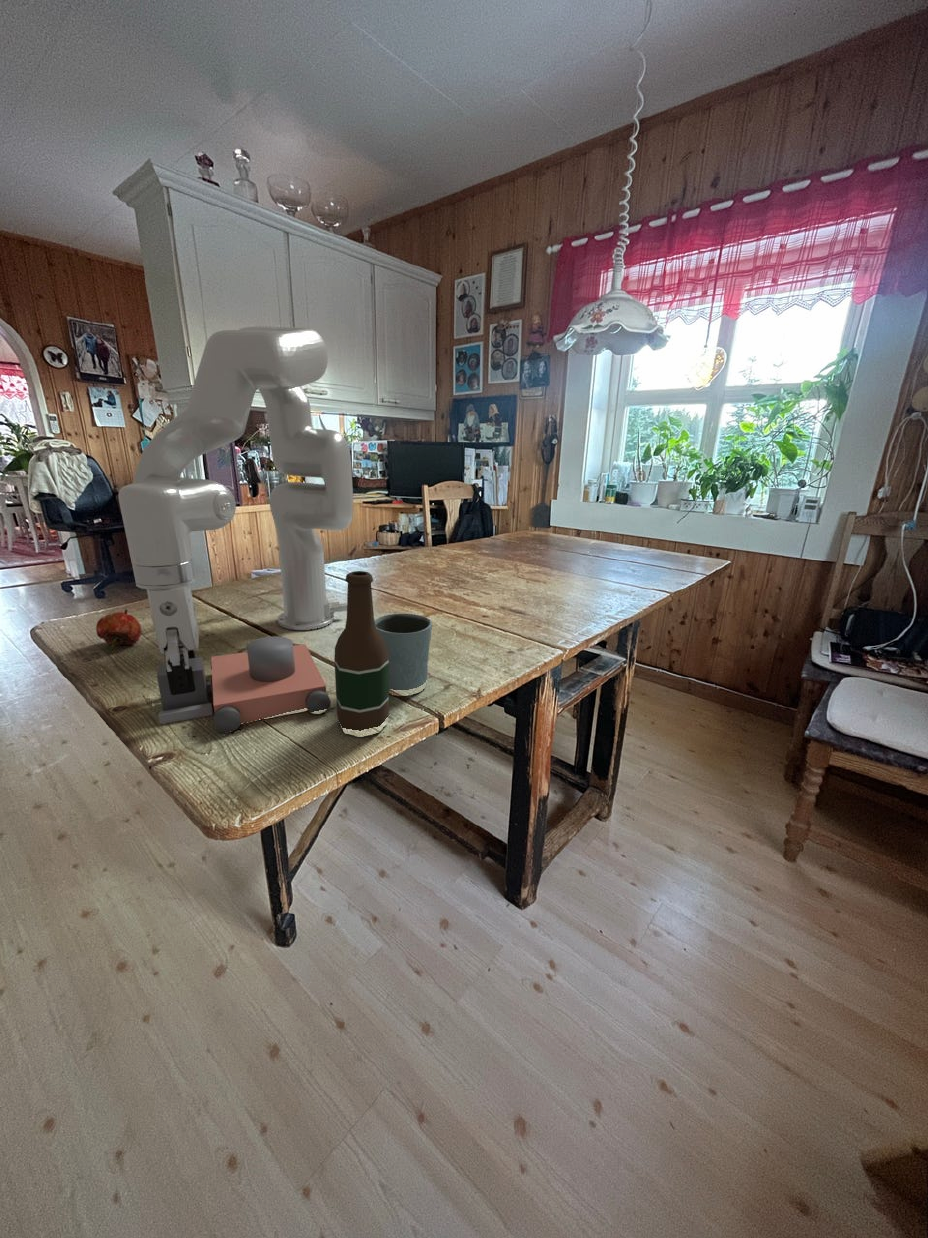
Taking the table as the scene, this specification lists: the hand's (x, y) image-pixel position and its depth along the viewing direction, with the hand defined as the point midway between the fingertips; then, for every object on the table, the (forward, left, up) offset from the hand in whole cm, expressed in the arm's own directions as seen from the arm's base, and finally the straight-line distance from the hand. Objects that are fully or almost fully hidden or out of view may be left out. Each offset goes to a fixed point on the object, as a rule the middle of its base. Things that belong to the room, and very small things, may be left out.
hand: (184, 678), depth 76 cm
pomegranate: (+12, -30, -5) cm, 33 cm away
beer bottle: (-24, +16, -5) cm, 29 cm away
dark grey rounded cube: (0, 0, -5) cm, 5 cm away
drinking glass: (-34, +6, -5) cm, 35 cm away
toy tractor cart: (-8, 0, -5) cm, 9 cm away
